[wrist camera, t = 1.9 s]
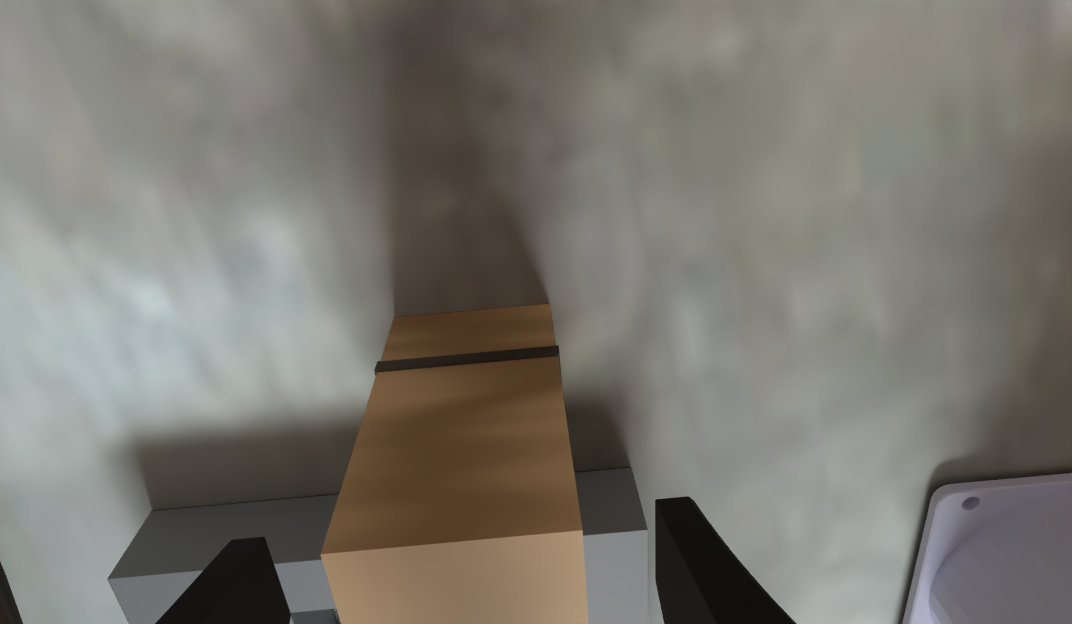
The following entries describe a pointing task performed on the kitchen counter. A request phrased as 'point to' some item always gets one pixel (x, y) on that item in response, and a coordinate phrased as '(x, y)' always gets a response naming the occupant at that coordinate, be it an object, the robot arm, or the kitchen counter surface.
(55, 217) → the kitchen counter surface
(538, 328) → the oak peg
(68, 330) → the kitchen counter surface
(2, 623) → the manual coffee grinder
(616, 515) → the hole board
